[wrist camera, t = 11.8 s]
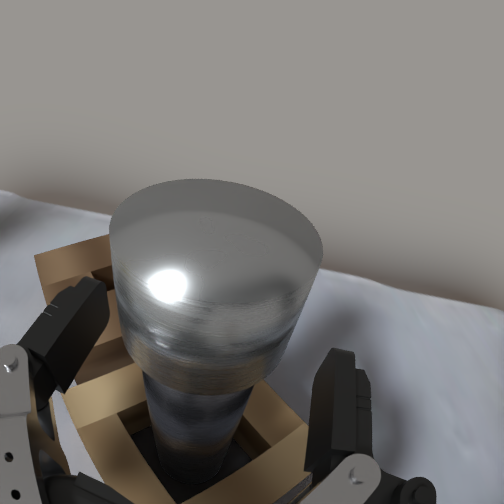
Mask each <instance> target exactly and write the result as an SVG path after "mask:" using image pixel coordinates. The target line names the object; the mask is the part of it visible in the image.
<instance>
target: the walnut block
mask: <svg viewBox="0 0 504 504" xmlns="http://www.w3.org/2000/svg"><path fill="white" fill-rule="evenodd" d="M34 258H35V262H36V267H37V271H38V275H39V279H40V282H41V286H42V290H43V293H44V297H45V300H46V304H47V306H48V305H50V302H51V301H52V300H53V299H54V297H55V296H56V295H57V294H58V293H59V292H60V291H62V290H64V289H65V288H67V287H69V286H73V287H75V286H76V285H77V283H78V282H79V281H80V280H81V279H82V278H83V277H85V276H88V277H90V278H93V279H96V280H99V281H102V282H104V283H105V285H106V290H107V297H108V303H109V309H110V318H109V322H108V324H107V326H106V328H105V330H104V331H103V333H102V334H101V336H100V337H99V339H98V341H97V342H96V344H95V345H94V347H93V349H92V350H91V352H90V353H89V355H88V357H87V358H86V360H85V361H84V363H83V365H82V366H81V368H80V370H79V371H78V373H77V375H76V376H75V378H74V379H75V381H76V383H77V385H80V384H83V383H85V382H88V381H90V380H93V379H96V378H98V377H101V376H103V375H106V374H108V373H111V372H113V371H116V370H118V369H121V368H123V367H126V366H128V365H130V364H133V363H135V362H134V361H133V359H132V358H131V356H130V355H129V353H128V351H127V349H126V347H125V345H124V341H123V338H122V334H121V328H120V322H119V315H118V309H117V302H116V294H115V286H114V278H113V269H112V260H111V249H110V237H109V234H108V235H104V236H100V237H97V238H93V239H89V240H86V241H82V242H78V243H75V244H71V245H68V246H64V247H61V248H58V249H54V250H51V251H47V252H44V253H41V254H37V255H34Z"/></svg>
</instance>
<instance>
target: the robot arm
mask: <svg viewBox="0 0 504 504" xmlns="http://www.w3.org/2000/svg"><path fill="white" fill-rule="evenodd" d="M109 318H110V309H109V303H108V297H107V290H106V285H105V283H104V282H102V281H99V280H96V279H93V278H90V277H88V276H85V277H83V278H82V279H81V280H80V281H79V282H78V283H77V285H76V286H75V287H73V286H69V287H67V288H65V289H64V290H62V291H60V292H59V293H58V294H57V295H56V296H55V297H54V299H53V300H52V301H51V302H50V305H48V306H47V307H46V308H45V309H44V312H43V313H41V314H40V316H39V317H38V318H37V319H36V321H35V322H34V323H33V325H32V326H31V327H30V328H29V330H28V331H27V332H26V334H25V335H24V336H23V337H22V339H21V340H20V341H19V342H18V343H17V344H16V345H15V344H9V345H6V346H3V347H2V348H0V504H134V503H133V502H131V501H130V500H128V499H127V498H126V497H124V496H123V495H121V494H120V493H118V492H117V491H116V490H114V489H113V488H112V487H110V486H109V485H106V484H104V483H102V482H100V481H98V480H95V479H93V478H91V477H89V476H87V475H85V474H83V473H81V472H79V473H78V476H76V475H71V473H70V469H69V466H68V462H67V459H66V456H65V454H64V452H63V450H62V448H61V445H60V442H59V437H58V432H57V426H56V421H55V415H54V408H53V401H52V397H51V396H52V394H53V392H54V391H55V390H57V391H59V392H61V393H63V394H64V395H65V393H66V391H67V390H68V388H69V386H70V385H71V383H72V381H73V380H74V378H75V376H76V375H77V373H78V371H79V370H80V368H81V366H82V365H83V363H84V361H85V360H86V358H87V357H88V355H89V353H90V352H91V350H92V349H93V347H94V345H95V344H96V342H97V341H98V339H99V337H100V336H101V334H102V333H103V331H104V330H105V328H106V326H107V324H108V322H109ZM370 398H371V388H370V382H369V380H368V377H367V375H366V373H365V371H364V370H361V369H356V368H355V354H354V352H351V351H346V350H342V349H337V348H331V350H330V351H329V353H328V355H327V356H326V358H325V360H324V361H323V363H322V365H321V366H320V368H319V369H318V371H317V373H316V375H315V378H314V382H313V387H312V398H311V408H310V419H309V429H308V438H307V447H306V455H305V463H304V471H305V472H312V473H313V477H312V482H311V483H310V484H309V485H308V486H307V487H305V488H304V489H303V490H302V491H301V492H300V493H299V494H298V495H297V496H295V497H294V498H293V499H292V500H291V501H290V502H289V503H287V504H436V490H435V487H434V485H433V484H432V483H431V482H430V481H429V480H428V479H426V478H423V477H415V478H412V479H410V480H408V481H406V480H404V479H401V478H398V477H396V476H393V475H391V474H388V473H386V472H384V471H383V470H381V469H380V467H379V465H378V464H377V462H376V461H375V460H374V458H373V454H372V412H371V400H370Z"/></svg>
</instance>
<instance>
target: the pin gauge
mask: <svg viewBox="0 0 504 504" xmlns="http://www.w3.org/2000/svg"><path fill="white" fill-rule="evenodd" d="M109 237H110V249H111V260H112V269H113V278H114V286H115V294H116V302H117V309H118V315H119V322H120V328H121V334H122V338H123V341H124V345H125V347H126V349H127V351H128V353H129V355H130V356H131V358H132V359H133V361H134V362H135V363H136V364H137V365H138V366H139V367H140V368H141V370H142V375H143V381H144V387H145V393H146V399H147V404H148V410H149V415H150V420H151V425H152V430H153V435H154V439H155V444H156V448H157V453H158V457H159V461H160V464H161V466H162V468H163V469H164V471H165V472H166V473H167V474H168V475H169V476H170V477H172V478H173V479H175V480H177V481H179V482H182V483H186V484H199V483H203V482H206V481H208V480H210V479H211V478H213V477H214V476H215V475H216V474H217V472H218V471H219V469H220V467H221V465H222V463H223V460H224V458H225V456H226V453H227V451H228V449H229V446H230V444H231V442H232V439H233V437H234V434H235V432H236V430H237V427H238V425H239V422H240V420H241V417H242V415H243V413H244V410H245V408H246V405H247V403H248V400H249V398H250V395H251V393H252V390H253V388H254V385H255V384H257V383H259V382H260V381H262V380H263V379H264V378H266V377H267V376H268V375H269V374H270V373H271V372H272V371H273V370H274V369H275V367H276V366H277V365H278V363H279V362H280V360H281V358H282V356H283V354H284V351H285V349H286V347H287V345H288V342H289V340H290V338H291V335H292V333H293V331H294V328H295V326H296V324H297V321H298V319H299V317H300V314H301V312H302V309H303V307H304V304H305V302H306V300H307V297H308V295H309V292H310V290H311V287H312V285H313V282H314V280H315V277H316V275H317V272H318V270H319V267H320V264H321V261H322V257H323V246H322V242H321V239H320V237H319V234H318V232H317V231H316V229H315V228H314V226H313V225H312V223H311V222H310V221H309V220H308V219H307V218H306V217H305V216H304V215H303V214H302V213H301V212H300V211H298V210H297V209H296V208H294V207H293V206H291V205H290V204H288V203H286V202H285V201H283V200H281V199H279V198H278V197H276V196H273V195H271V194H269V193H266V192H264V191H261V190H259V189H255V188H253V187H249V186H246V185H242V184H238V183H233V182H227V181H220V180H211V179H184V180H175V181H168V182H164V183H159V184H156V185H153V186H149V187H147V188H145V189H142V190H140V191H138V192H136V193H134V194H132V195H131V196H130V197H128V198H127V199H125V200H124V201H123V202H122V203H121V204H120V205H119V206H118V208H117V209H116V210H115V212H114V214H113V216H112V218H111V222H110V226H109Z"/></svg>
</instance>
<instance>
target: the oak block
mask: <svg viewBox="0 0 504 504" xmlns="http://www.w3.org/2000/svg"><path fill="white" fill-rule="evenodd" d="M60 393H61V392H60ZM61 395H62V398H63V400H64V403H65V405H66V407H67V410H68V412H69V414H70V416H71V419H72V421H73V423H74V425H75V427H76V430H77V432H78V434H79V436H80V438H81V440H82V442H83V444H84V446H85V448H86V450H87V452H88V454H89V456H90V458H91V459H92V461H93V463H94V465H95V467H96V469H97V470H98V472H99V474H100V476H101V477H102V479H103V481H104V483H105V484H106V485H109V486H110V487H112V488H113V489H114V490H116V491H117V492H118V493H120V494H121V495H123V496H124V497H126V498H127V499H128V500H130V501H131V502H133V503H134V504H176V503H175V501H174V500H173V499H172V497H171V496H170V495H169V493H168V492H167V491H166V489H165V488H164V487H163V485H162V484H161V483H160V481H159V480H158V478H157V477H156V475H155V474H154V473H153V471H152V470H151V468H150V467H149V465H148V464H147V462H146V461H145V459H144V458H143V456H142V455H141V453H140V452H139V450H138V448H137V447H136V445H135V444H134V442H133V440H132V439H131V437H130V435H132V434H134V433H136V432H138V431H140V430H143V429H145V428H147V427H149V426H151V420H150V415H149V410H148V404H147V399H146V393H145V387H144V381H143V375H142V370H141V368H140V367H139V366H138V365H137V364H136V363H133V364H130V365H128V366H126V367H123V368H121V369H118V370H116V371H113V372H111V373H108V374H106V375H103V376H101V377H98V378H96V379H93V380H90V381H88V382H85V383H83V384H80V385H77V386H75V387H72V388H69V389H68V390H67V391H66V393H65V395H64V394H63V393H61ZM308 429H309V426H308V425H307V424H306V423H305V422H304V421H303V420H302V419H301V418H300V417H299V416H298V415H297V414H296V413H295V412H294V411H293V410H292V409H291V408H290V407H289V406H288V405H287V404H286V403H285V402H284V401H283V400H282V399H281V398H280V397H279V396H278V395H277V394H276V392H275V391H274V390H273V389H272V388H271V387H270V386H269V385H268V384H267V383H266V382H265V381H264V380H262V381H260V382H259V383H257V384H255V385H254V388H253V390H252V393H251V395H250V398H249V400H248V403H247V405H246V408H245V410H244V413H243V415H242V417H241V420H240V422H239V425H238V427H237V430H236V432H235V434H234V437H233V438H234V440H235V441H236V442H237V443H238V444H239V445H240V446H241V448H242V449H243V450H244V451H245V452H246V453H247V454H248V456H249V457H250V458H251V459H252V460H253V461H251V462H250V463H248V464H247V465H245V466H244V467H242V468H240V469H239V470H237V471H236V472H234V473H233V474H231V475H229V476H228V477H226V478H225V479H223V480H221V481H220V482H218V483H216V484H215V485H213V486H211V487H210V488H208V489H206V490H205V491H203V492H201V493H199V494H197V495H196V496H194V497H192V498H190V499H188V500H187V501H185V502H183V503H181V504H272V503H274V502H275V501H277V500H278V499H279V498H280V497H282V496H283V495H284V494H286V493H287V492H288V491H290V490H291V489H292V488H293V487H295V486H296V485H297V484H298V483H300V482H301V481H302V480H303V479H304V478H306V477H307V476H308V475H309V474H310V473H312V472H305V471H304V463H305V455H306V447H307V438H308Z"/></svg>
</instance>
